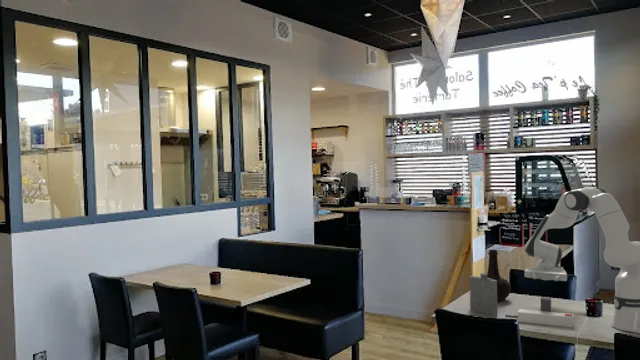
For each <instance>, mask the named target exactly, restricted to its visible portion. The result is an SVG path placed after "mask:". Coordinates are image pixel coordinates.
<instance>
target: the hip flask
mask: <svg viewBox="0 0 640 360" xmlns="http://www.w3.org/2000/svg"><path fill="white" fill-rule="evenodd" d="M487 275H488V274H487V272H485V273H484V272H482V273H481V272H480V275H479V276H476V275H470V276H469V300H470V301H469V303H470V304H469V306H470V307H469V308H470V309H469V310H470V311H472V312H473V311H474V312H476V313H477V312H478V313H482V314H484V315H485V314H486V315H489V316H492V317H493V316H494V317H497V316H498V301H497V280H493V279H491V278H487Z"/></svg>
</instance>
